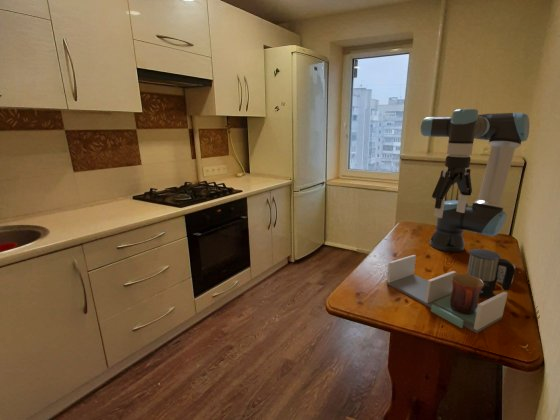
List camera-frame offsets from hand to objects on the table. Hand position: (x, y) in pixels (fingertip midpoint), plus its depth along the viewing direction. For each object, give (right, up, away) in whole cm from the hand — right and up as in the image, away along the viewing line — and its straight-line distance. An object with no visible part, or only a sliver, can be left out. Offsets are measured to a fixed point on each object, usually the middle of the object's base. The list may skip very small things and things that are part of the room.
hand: (449, 214), depth 112 cm
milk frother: (+13, -27, +2) cm, 30 cm away
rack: (-7, -29, -6) cm, 31 cm away
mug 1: (-4, -31, -15) cm, 35 cm away
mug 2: (+26, -26, +9) cm, 37 cm away
